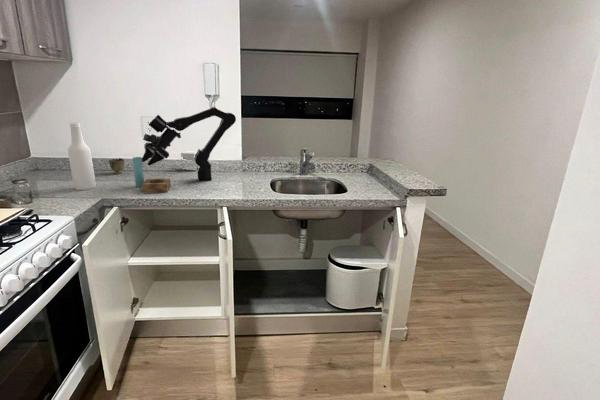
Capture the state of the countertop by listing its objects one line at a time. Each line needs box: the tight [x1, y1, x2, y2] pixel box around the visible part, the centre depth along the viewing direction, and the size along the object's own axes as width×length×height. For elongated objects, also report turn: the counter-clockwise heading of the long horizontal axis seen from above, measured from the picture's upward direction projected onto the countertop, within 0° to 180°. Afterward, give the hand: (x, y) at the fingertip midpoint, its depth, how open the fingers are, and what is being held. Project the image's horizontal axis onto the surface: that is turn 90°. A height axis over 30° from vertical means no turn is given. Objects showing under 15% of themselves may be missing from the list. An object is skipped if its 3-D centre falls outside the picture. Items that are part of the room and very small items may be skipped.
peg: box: [132, 156, 145, 188], centre depth 166 cm, size 4×4×14 cm
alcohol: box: [67, 122, 97, 191], centre depth 158 cm, size 9×9×30 cm
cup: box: [108, 157, 125, 175], centre depth 190 cm, size 8×7×8 cm
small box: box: [180, 152, 195, 161], centre depth 204 cm, size 8×6×10 cm
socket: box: [141, 178, 172, 194], centre depth 163 cm, size 11×11×4 cm
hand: (145, 163), depth 167 cm, fingers open, 9 cm apart
